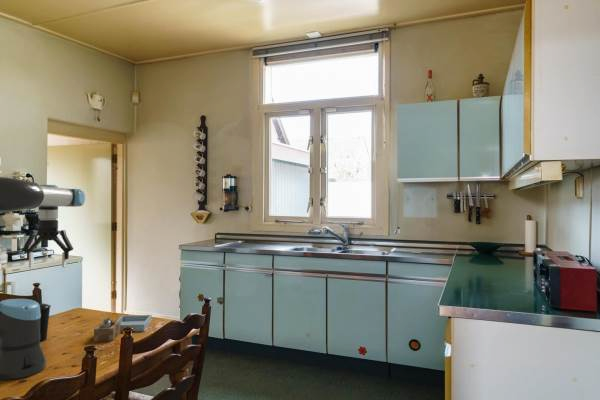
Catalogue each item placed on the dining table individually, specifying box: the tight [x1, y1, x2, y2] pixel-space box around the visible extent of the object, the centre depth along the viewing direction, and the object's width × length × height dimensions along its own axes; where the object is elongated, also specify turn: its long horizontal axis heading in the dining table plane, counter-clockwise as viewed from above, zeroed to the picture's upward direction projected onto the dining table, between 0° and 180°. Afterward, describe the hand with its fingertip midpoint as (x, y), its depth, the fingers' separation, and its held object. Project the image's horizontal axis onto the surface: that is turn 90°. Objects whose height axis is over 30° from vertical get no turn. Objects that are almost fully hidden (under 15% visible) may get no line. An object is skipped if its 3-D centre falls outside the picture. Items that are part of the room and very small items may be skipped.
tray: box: [116, 314, 153, 333], centre depth 190 cm, size 16×14×3 cm
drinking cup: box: [38, 290, 52, 343], centre depth 170 cm, size 8×8×20 cm
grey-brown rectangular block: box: [93, 318, 121, 342], centre depth 175 cm, size 10×7×6 cm
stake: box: [102, 316, 111, 328], centre depth 174 cm, size 4×3×8 cm
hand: (47, 267), depth 186 cm, fingers open, 13 cm apart
